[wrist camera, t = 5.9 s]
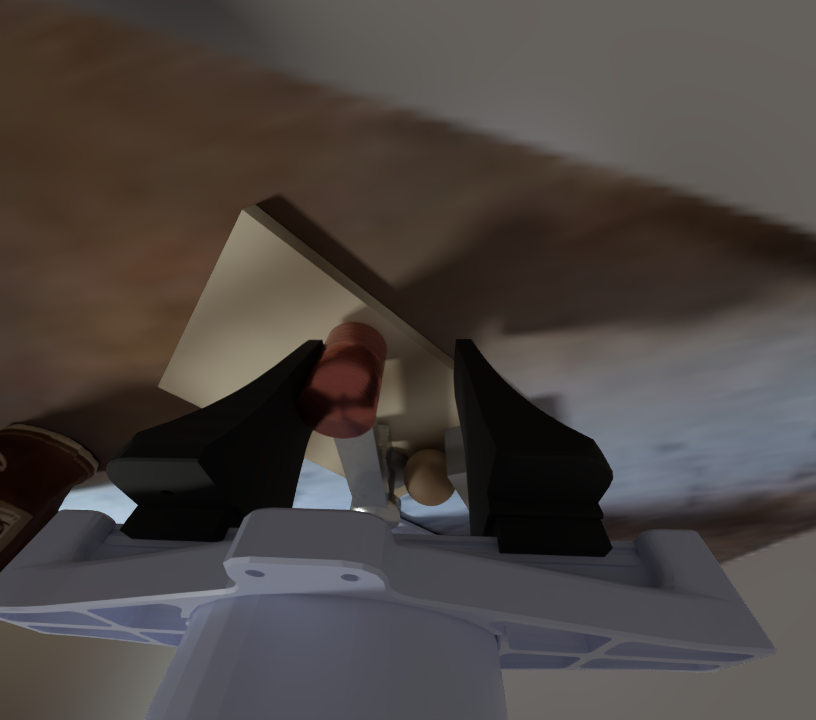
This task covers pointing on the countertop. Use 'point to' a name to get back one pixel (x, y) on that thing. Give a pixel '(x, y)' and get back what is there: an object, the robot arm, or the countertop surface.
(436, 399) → the cracker base
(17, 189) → the countertop surface
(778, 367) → the countertop surface
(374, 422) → the lever
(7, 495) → the coffee cup
